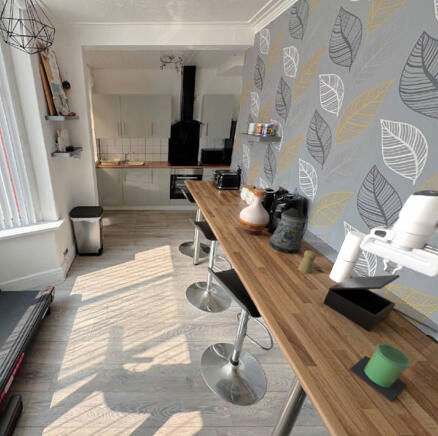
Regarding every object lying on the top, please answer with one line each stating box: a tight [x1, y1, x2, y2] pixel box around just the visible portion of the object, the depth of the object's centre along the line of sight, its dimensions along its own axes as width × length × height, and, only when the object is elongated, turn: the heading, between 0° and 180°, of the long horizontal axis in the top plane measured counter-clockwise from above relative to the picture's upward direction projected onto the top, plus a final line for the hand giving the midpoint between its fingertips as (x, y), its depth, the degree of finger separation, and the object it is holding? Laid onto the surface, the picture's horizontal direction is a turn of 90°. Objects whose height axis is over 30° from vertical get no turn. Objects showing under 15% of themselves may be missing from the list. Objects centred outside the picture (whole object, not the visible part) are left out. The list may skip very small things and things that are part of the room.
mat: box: [349, 355, 407, 403], centre depth 71 cm, size 10×10×1 cm
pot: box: [364, 342, 411, 388], centre depth 69 cm, size 7×7×10 cm
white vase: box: [239, 187, 270, 236], centre depth 154 cm, size 20×18×30 cm
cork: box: [297, 249, 318, 274], centre depth 118 cm, size 6×6×11 cm
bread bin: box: [323, 289, 396, 332], centre depth 94 cm, size 16×16×8 cm
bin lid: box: [328, 274, 401, 290], centre depth 91 cm, size 16×16×1 cm
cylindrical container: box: [329, 230, 368, 283], centre depth 109 cm, size 7×7×25 cm
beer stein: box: [269, 206, 307, 255], centre depth 138 cm, size 16×19×25 cm
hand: (389, 271), depth 84 cm, fingers closed
